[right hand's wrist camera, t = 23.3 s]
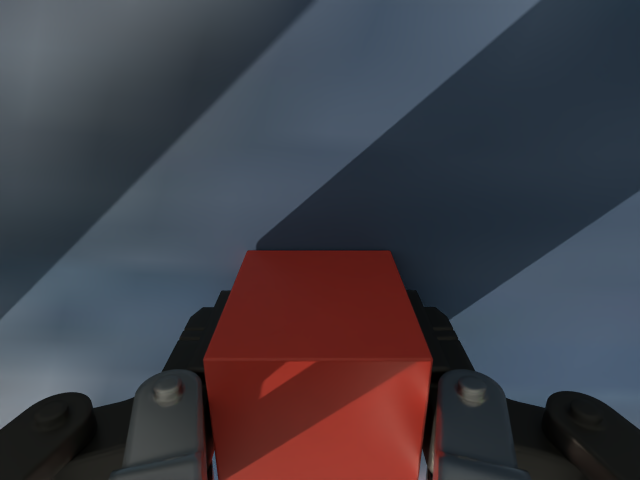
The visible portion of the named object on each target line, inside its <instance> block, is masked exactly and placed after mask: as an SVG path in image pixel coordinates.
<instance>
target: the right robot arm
mask: <svg viewBox="0 0 640 480" xmlns="http://www.w3.org/2000/svg"><path fill="white" fill-rule="evenodd" d="M230 292H231V291H221V293H220V295H219V297H218V300H217V302H216V304H215V306H214V307H203V308H201V309H200V310H199V311H198V312H196V313H195V314H194V315H193V316H191V317H190V319H189V321H188V323H187V325H186V327H185V330H184V331H183V332H182V334H181V336H180V340H179V341H178V342H177V344H176V346H175V348H174V350H173V351H172V353H171V355H170V357H169V359H168V361H167V363H166V365H165V367H164V369H163V370H162V372H161V373H158V374H156V375H154V376H152V377H150V378H149V379H147V380H146V381H145V382H144V383H142V384H141V385H140V387H139V388H138V389H137V391H136V393H135V397H133V398H131V399H128V400H125V401H122V402H118V403H114V404H109V405H105V406H101V407H96V408H93V406H92V402H91V400H90V398H89V397H88V396H86V395H84V394H82V393H77V392H68V393H61V394H57V395H53V396H50V397H48V398H45V399H43V400H41V401H39V402H37V403H35V404H34V405H32V406H31V407H29V408H28V409H27V410H25V411H24V412H23V413H21V414H20V415H19V416H17V417H16V418H15V419H14V420H12V421H11V422H10V423H8V424H7V425H6V426H4V427H3V428H2V429H1V430H0V480H214V472H213V464H212V457H213V453H214V450H215V449H214V442H213V434H212V426H211V418H210V411H209V403H208V395H207V387H206V379H205V372H204V364H203V358H204V356H205V353H206V351H207V349H208V346H209V344H210V341H211V339H212V336H213V334H214V331H215V329H216V326H217V324H218V322H219V319H220V317H221V314H222V312H223V309H224V307H225V304H226V302H227V300H228V297H229V295H230ZM406 292H407V295H408V297H409V300H410V302H411V305H412V307H413V310H414V312H415V315H416V318H417V320H418V323H419V325H420V328H421V330H422V333H423V335H424V338H425V340H426V343H427V346H428V348H429V351H430V353H431V356H432V358H433V365H432V373H431V381H430V389H429V397H428V405H427V413H426V421H425V429H424V437H423V445H422V449H423V453H424V456H425V460H426V463H427V472H426V480H640V430H639V429H638V428H637V427H636V426H634V425H633V424H632V423H630V422H629V421H628V420H626V419H625V418H624V417H623V416H621V415H620V414H619V413H617V412H616V411H615V410H613V409H612V408H611V407H609V406H608V405H607V404H605V403H603V402H602V401H600V400H598V399H596V398H594V397H591V396H589V395H586V394H582V393H578V392H573V391H561V392H556V393H554V394H552V395H551V396H550V397H549V398H548V400H547V403H546V407H545V408H543V407H539V406H534V405H530V404H526V403H521V402H517V401H514V400H510V399H508V398H506V397H505V393H504V391H503V389H502V388H501V387H500V385H499V384H498V383H496V382H495V381H494V380H493V379H491V378H490V377H488V376H486V375H484V374H482V373H479V372H476V371H475V370H474V368H473V366H472V364H471V362H470V360H469V358H468V356H467V354H466V352H465V350H464V348H463V347H462V345H461V343H460V341H459V340H458V337H457V335H456V333H455V331H453V327H452V325H451V323H450V321H449V320H448V318H447V316H445V315H444V314H443V313H442V312H440V311H439V310H438V309H437V308H435V307H423V304H422V302H421V300H420V298H419V295H418V293H417V291H416V290H406Z"/></svg>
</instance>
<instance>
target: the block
mask: <svg viewBox="0 0 640 480" xmlns="http://www.w3.org/2000/svg"><path fill="white" fill-rule="evenodd" d="M203 364H204V372H205V379H206V387H207V395H208V403H209V411H210V418H211V426H212V434H213V442H214V449H215V457H216V465H217V473H218V480H418V477H419V469H420V461H421V453H422V445H423V437H424V429H425V421H426V413H427V405H428V397H429V389H430V381H431V373H432V365H433V358H432V356H431V353H430V351H429V348H428V346H427V343H426V340H425V338H424V335H423V333H422V330H421V328H420V325H419V323H418V320H417V318H416V315H415V312H414V310H413V307H412V305H411V302H410V300H409V297H408V295H407V292H406V290H405V287H404V284H403V282H402V279H401V277H400V274H399V272H398V269H397V267H396V264H395V262H394V259H393V257H392V254H391V251H247V253H246V255H245V258H244V260H243V263H242V265H241V268H240V270H239V273H238V275H237V277H236V280H235V282H234V285H233V287H232V290H231V292H230V295H229V297H228V300H227V302H226V304H225V307H224V309H223V312H222V314H221V317H220V319H219V322H218V324H217V326H216V329H215V331H214V334H213V336H212V339H211V341H210V344H209V346H208V349H207V351H206V353H205V356H204V358H203Z"/></svg>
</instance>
